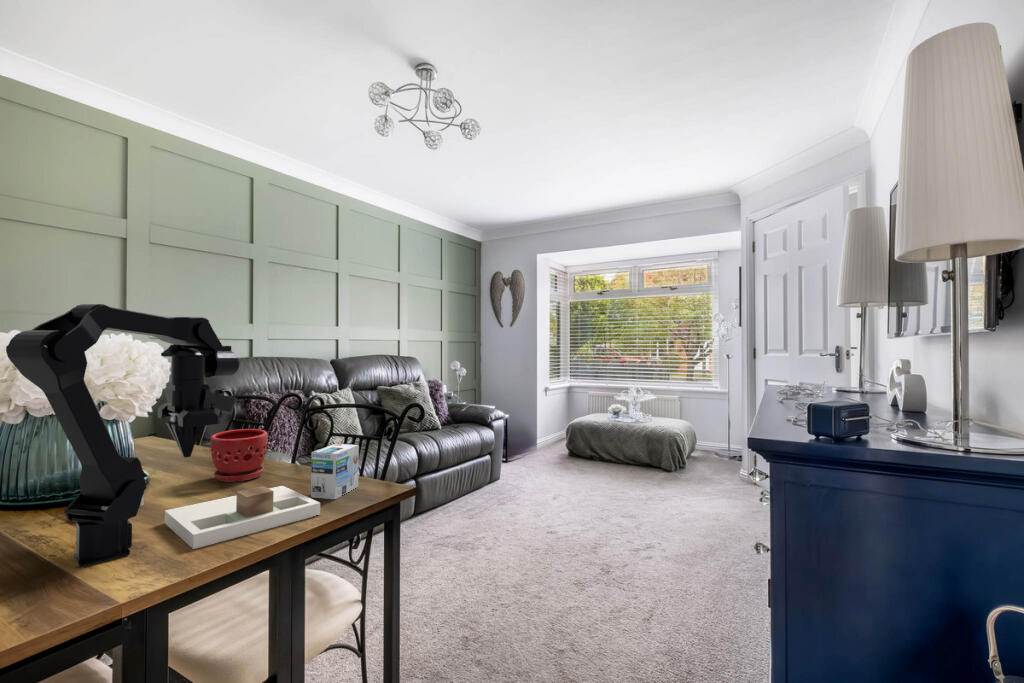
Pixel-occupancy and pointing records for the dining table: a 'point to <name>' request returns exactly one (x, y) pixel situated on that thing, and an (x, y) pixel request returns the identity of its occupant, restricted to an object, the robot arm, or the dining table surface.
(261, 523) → the tray
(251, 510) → the walnut block
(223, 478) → the plant pot
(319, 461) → the light bulb box
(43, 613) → the dining table surface
